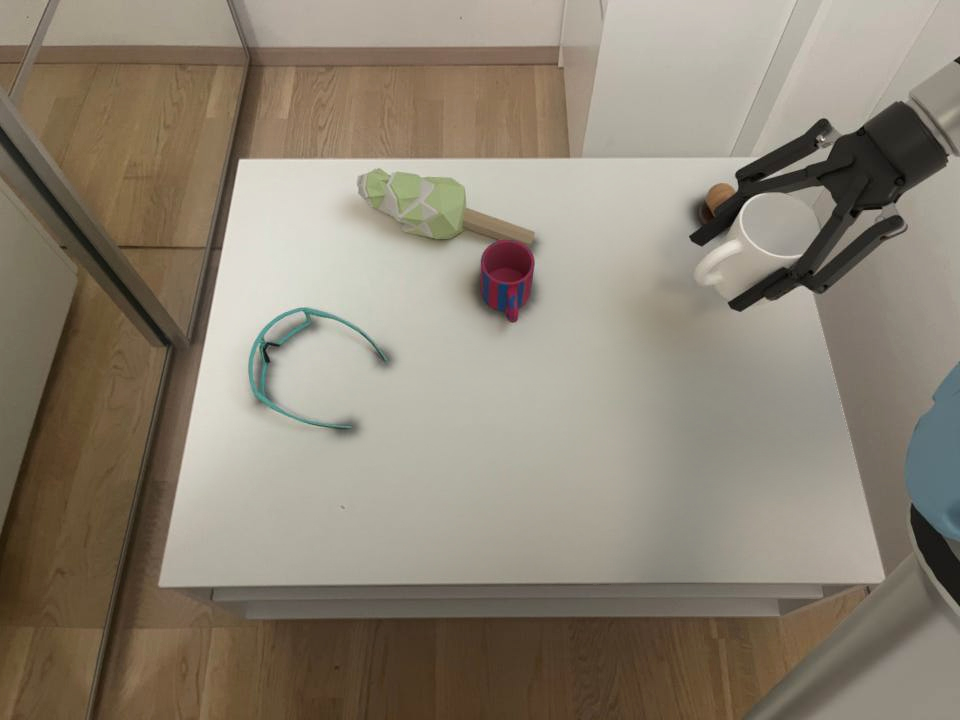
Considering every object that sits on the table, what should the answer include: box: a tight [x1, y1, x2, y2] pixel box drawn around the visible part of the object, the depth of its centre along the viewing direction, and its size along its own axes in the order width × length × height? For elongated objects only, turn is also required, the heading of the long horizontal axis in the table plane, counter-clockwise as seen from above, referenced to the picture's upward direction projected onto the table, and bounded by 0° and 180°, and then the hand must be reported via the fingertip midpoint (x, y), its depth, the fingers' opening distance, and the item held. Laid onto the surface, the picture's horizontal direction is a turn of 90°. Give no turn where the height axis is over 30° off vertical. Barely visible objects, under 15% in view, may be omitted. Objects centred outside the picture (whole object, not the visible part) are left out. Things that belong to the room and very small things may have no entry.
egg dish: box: [698, 182, 737, 232], centre depth 92 cm, size 6×5×5 cm
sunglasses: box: [247, 307, 388, 430], centre depth 82 cm, size 14×15×5 cm
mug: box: [693, 192, 823, 308], centre depth 72 cm, size 12×8×10 cm
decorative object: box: [356, 167, 536, 249], centre depth 90 cm, size 9×10×25 cm
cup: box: [480, 240, 536, 323], centre depth 85 cm, size 7×10×7 cm
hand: (714, 273), depth 73 cm, fingers closed on mug, 8 cm apart
